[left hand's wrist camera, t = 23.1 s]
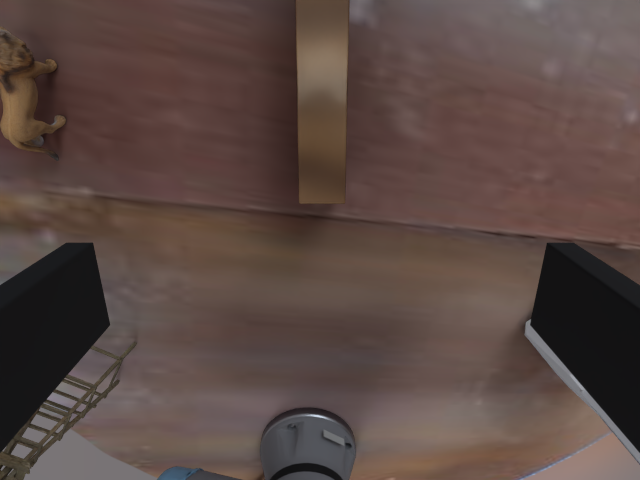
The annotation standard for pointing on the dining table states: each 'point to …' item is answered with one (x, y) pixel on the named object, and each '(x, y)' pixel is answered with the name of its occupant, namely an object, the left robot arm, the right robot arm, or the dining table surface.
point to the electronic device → (576, 386)
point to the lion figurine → (23, 95)
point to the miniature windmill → (24, 464)
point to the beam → (322, 99)
